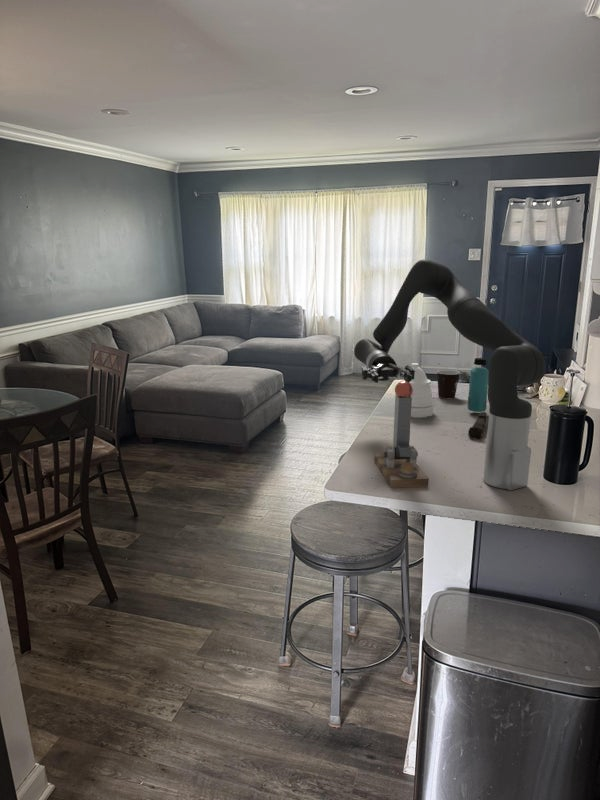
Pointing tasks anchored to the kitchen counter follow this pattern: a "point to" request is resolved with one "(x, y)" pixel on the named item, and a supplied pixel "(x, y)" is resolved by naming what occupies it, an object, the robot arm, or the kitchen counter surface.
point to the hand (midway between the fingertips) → (393, 379)
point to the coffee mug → (447, 383)
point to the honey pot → (421, 394)
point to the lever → (402, 420)
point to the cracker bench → (398, 480)
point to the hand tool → (478, 426)
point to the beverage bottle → (478, 387)
